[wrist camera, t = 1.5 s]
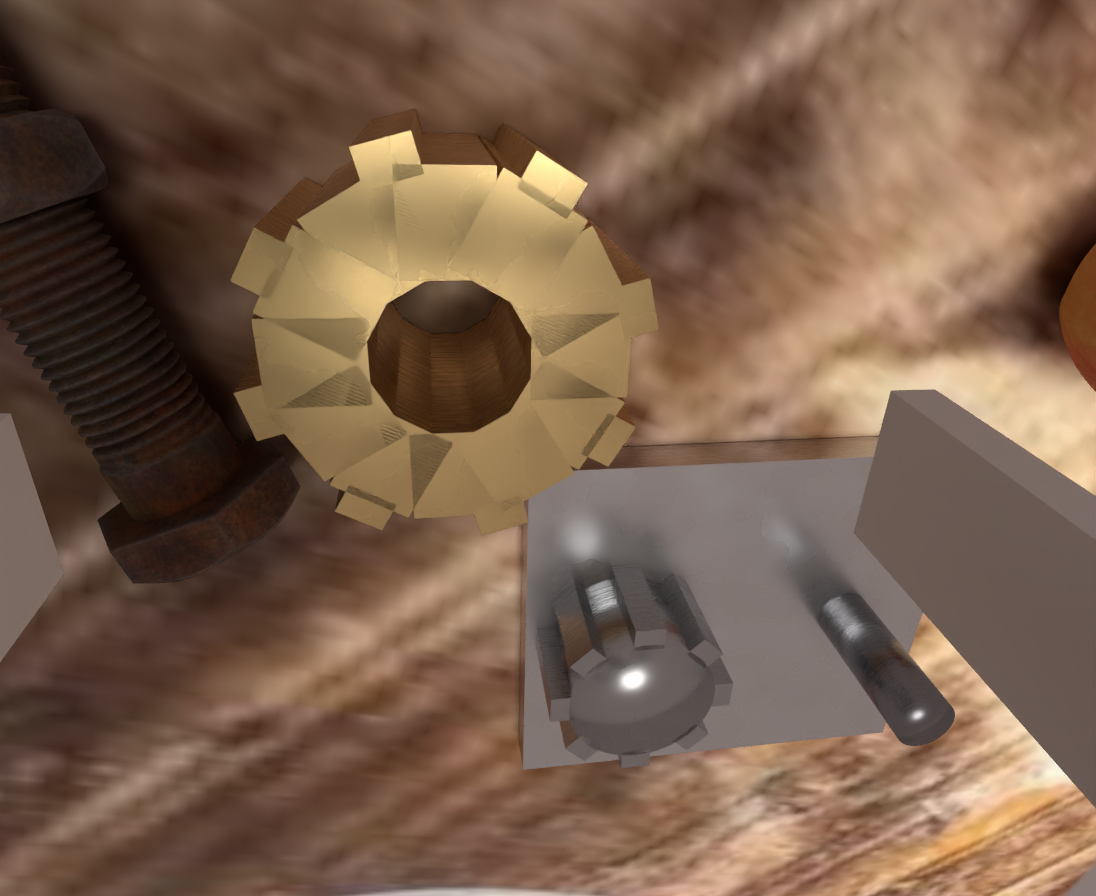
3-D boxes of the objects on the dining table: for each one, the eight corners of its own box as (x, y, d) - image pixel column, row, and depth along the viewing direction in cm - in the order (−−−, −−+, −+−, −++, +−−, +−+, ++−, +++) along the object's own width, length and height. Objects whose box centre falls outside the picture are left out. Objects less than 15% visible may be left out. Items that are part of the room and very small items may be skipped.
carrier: (518, 740, 32) (541, 903, 26) (523, 451, 25) (555, 576, 19) (864, 706, 34) (961, 848, 28) (950, 433, 28) (1100, 540, 22)
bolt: (-12, -23, 19) (264, 464, 26) (-252, 27, 17) (119, 545, 24) (-13, -108, 14) (323, 511, 21) (-342, -55, 12) (150, 616, 19)
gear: (303, 421, 24) (261, 548, 18) (261, 104, 19) (185, 125, 13) (586, 411, 25) (638, 526, 19) (603, 113, 21) (678, 135, 15)
